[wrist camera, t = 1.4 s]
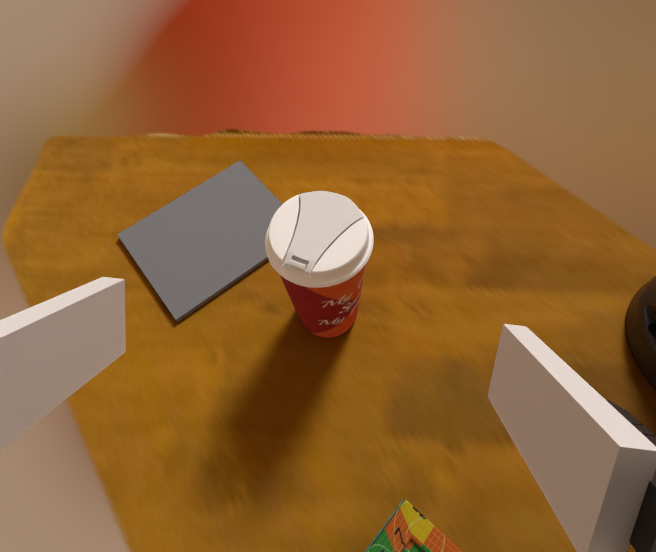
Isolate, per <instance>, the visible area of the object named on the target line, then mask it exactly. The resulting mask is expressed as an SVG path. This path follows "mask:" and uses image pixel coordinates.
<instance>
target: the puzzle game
mask: <svg viewBox="0 0 656 552" xmlns="http://www.w3.org/2000/svg"><path fill="white" fill-rule="evenodd" d="M365 552H462V551H461V550H460V549H459V548H458V547H457V546H456V545H454V544H453V543H452V542H451V541H450V540H449V539H448V538H447V537H446V536H445V535H444V534H443V533H442V532H440V531H439V530H438V529H437V528H436V527H435V526H434V525H433V524H432V523H431V522H430V521H429V520H427V519H426V518H425V517H424V516H423V515H422V514H421V513H420V512H419V511H418V510H417V509H416V508H414V507H413V506H412V505H411V504H410V503H409V502H408V501H407V500H406V499H403V500H402V501H401V503H400V504H399V505H398V507H397V508H396V510H395V511H394V512H393V514H392V515H391V517H390V518H389V519H388V521H387V522H386V524H385V525H384V526H383V528H382V529H381V531H380V532H379V533H378V535H377V536H376V537H375V539H374V540H373V542H372V543H371V544H370V546H369V547H368V549H367V550H366V551H365Z"/></svg>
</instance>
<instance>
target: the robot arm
mask: <svg viewBox="0 0 656 552" xmlns="http://www.w3.org/2000/svg"><path fill="white" fill-rule="evenodd" d="M626 329H627V337H628V341H629V345H630V348H631V351H632V353H633V356H634V358H635V360H636V362H637V364H638V365H639V367H640V369H641V370H642V372H643V373H644V375H645V376H646V378H647V379H648V380H649V381H650V383H651V384H652V385H653V386H654V387H655V388H656V276H655V277H654V278H653V279H651V280H650V281H649V282H648V283H646V284H645V285H644V286H643V287H641V288H640V289H639V290H638V292H637V293H636V294H635V296H634V297H633V299H632V301H631V303H630V305H629V308H628V312H627V319H626ZM125 352H126V346H125V282H124V279H117V278H109V277H102V278H99V279H97V280H94V281H92V282H90V283H87V284H85V285H83V286H80V287H78V288H76V289H73V290H71V291H68V292H66V293H64V294H61V295H59V296H57V297H54V298H52V299H50V300H47V301H45V302H42V303H40V304H38V305H35V306H33V307H31V308H28V309H26V310H24V311H21V312H19V313H17V314H14V315H12V316H9V317H7V318H5V319H2V320H0V451H1V450H2V449H3V448H5V447H6V446H7V445H8V444H10V443H11V442H12V441H13V440H15V439H16V438H17V437H18V436H20V435H21V434H22V433H23V432H25V431H26V430H27V429H29V428H30V427H31V426H32V425H34V424H35V423H36V422H37V421H39V420H40V419H41V418H42V417H44V416H45V415H46V414H47V413H49V412H50V411H51V410H53V409H54V408H55V407H56V406H58V405H59V404H60V403H61V402H63V401H64V400H65V399H67V398H68V397H69V396H70V395H72V394H73V393H74V392H75V391H77V390H78V389H79V388H81V387H82V386H83V385H84V384H86V383H87V382H88V381H89V380H91V379H92V378H93V377H95V376H96V375H97V374H98V373H100V372H101V371H102V370H103V369H105V368H106V367H107V366H108V365H110V364H111V363H112V362H114V361H115V360H116V359H117V358H119V357H120V356H121V355H122V354H124V353H125ZM488 399H489V400H490V402H491V404H492V406H493V407H494V409H495V411H496V413H497V414H498V416H499V418H500V419H501V421H502V423H503V425H504V426H505V428H506V430H507V432H508V433H509V435H510V437H511V439H512V440H513V442H514V444H515V446H516V447H517V449H518V451H519V452H520V454H521V456H522V458H523V459H524V461H525V463H526V465H527V466H528V468H529V470H530V472H531V473H532V475H533V477H534V478H535V480H536V482H537V484H538V485H539V487H540V489H541V491H542V492H543V494H544V496H545V498H546V499H547V501H548V503H549V505H550V506H551V508H552V510H553V511H554V513H555V515H556V517H557V518H558V520H559V522H560V524H561V525H562V527H563V529H564V531H565V532H566V534H567V536H568V537H569V539H570V541H571V543H572V544H573V546H574V548H575V550H576V551H577V552H628V550H629V547H630V544H631V545H632V546H633V548H634V549H635V550H636V552H656V437H654V434H653V433H652V432H651V431H649V430H648V429H647V428H646V427H643V424H642V423H640V422H639V421H638V420H637V419H636V418H635V417H634V416H633V415H631V414H630V413H629V412H628V411H626V410H624V409H623V408H621V407H619V406H618V405H616V404H614V403H612V402H611V401H609V400H605V399H604V398H603V397H602V396H601V395H600V394H599V393H597V392H596V391H595V390H594V389H593V388H592V387H591V386H590V385H589V384H588V383H587V382H586V381H584V380H583V379H582V378H581V377H580V376H579V375H578V374H577V373H576V372H575V371H574V370H573V369H572V368H570V367H569V366H568V365H567V364H566V363H565V362H564V361H563V360H562V359H561V358H560V357H559V356H557V355H556V354H555V353H554V352H553V351H552V350H551V349H550V348H549V347H548V346H547V345H546V344H544V343H543V342H542V341H541V340H540V339H539V338H538V337H537V336H536V335H535V334H534V333H533V332H531V331H530V330H529V329H528V328H527V327H526V326H518V325H509V324H503V327H502V332H501V336H500V341H499V346H498V350H497V355H496V359H495V364H494V369H493V373H492V378H491V383H490V387H489V392H488Z"/></svg>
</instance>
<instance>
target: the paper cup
mask: <svg viewBox="0 0 656 552" xmlns="http://www.w3.org/2000/svg"><path fill="white" fill-rule="evenodd" d="M299 196H300V197H299ZM372 248H373V231H372V228H371V225H370V222H369V221H368V219H367V217H366V216H365V215H364V214H363V213H362V211H361V210H360V209H358V207H357V206H356V205H355V204H354V203H353V202H352V201H351V200H350V199H349V198H347V197H345V196H343V195H340V194H337V193H332V192H327V191H314V192H308V193H303V194H299V195H296V196H294V197H292V198H291V199H289V200H288V201H286V202H285V203H284V204H283V205H282V206H281V207H279V209H278V210H277V211H276V213H275V214H274V216H273V218H272V220H271V222H270V225H269V227H268V230H267V233H266V238H265V250H266V254H267V257H268V259H269V262H270V264H271V265H272V267H273V268H274V269H275V270H276V271H277V272H278V273H279V274H280V276H281V278H282V280H283V283H284V285H285V287H286V290H287V292H288V294H289V296H290V299H291V301H292V303H293V305H294V307H295V310H296V312H297V314H298V316H299V318H300V320H301V322H302V323H303V325H304V326H305V328H306V329H307V330H308V331H309V332H311V333H312V334H314V335H316V336H319V337H323V338H332V337H337V336H339V335H342V334H343V333H345V332H346V331H348V330H349V329H350V327H351V326H352V325H353V323H354V321H355V319H356V316H357V312H358V307H359V301H360V295H361V289H362V283H363V277H364V271H365V265H366V263H367V261H368V259H369V257H370V255H371V252H372Z"/></svg>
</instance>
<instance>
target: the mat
mask: <svg viewBox="0 0 656 552" xmlns="http://www.w3.org/2000/svg"><path fill="white" fill-rule="evenodd" d="M282 205H283V204H282V203H281V202H280V201H279V200H278V199H277V198H276V197H275V196H274V195H273V194H272V193H271V192H270V191H269V190H268V189H267V188H266V186H265V185H264V184H263V183H262V182H261V181H260V180H259V179H258V178H257V177H256V176H255V175H254V174H253V173H252V172H251V171H250V170H249V169H248V168H247V167H246V166H245V165H244V164H243V163H242V162H241V161H238V162H237V163H235V164H233V165H232V166H230V167H228V168H227V169H225V170H223V171H222V172H220V173H218V174H217V175H215V176H213V177H212V178H210V179H209V180H207V181H205V182H204V183H202V184H200V185H199V186H197V187H195V188H194V189H192V190H190V191H189V192H187V193H185V194H184V195H182V196H180V197H179V198H177V199H175V200H174V201H172V202H170V203H169V204H167V205H165V206H164V207H162V208H161V209H159V210H157V211H156V212H154V213H152V214H151V215H149V216H147V217H146V218H144V219H142V220H141V221H139V222H137V223H136V224H134V225H132V226H131V227H129V228H127V229H126V230H124V231H122V232H121V233H119V234H117V235H118V236H119V238H120V239H121V241H122V242H123V244H124V245H125V247H126V248H127V250H128V251H129V252H130V254H131V255H132V257H133V258H134V260H135V261H136V263H137V264H138V266H139V267H140V269H141V270H142V271H143V273H144V274H145V276H146V277H147V279H148V280H149V282H150V283H151V285H152V286H153V287H154V289H155V290H156V292H157V293H158V295H159V296H160V298H161V299H162V301H163V302H164V304H165V305H166V306H167V308H168V309H169V311H170V312H171V314H172V315H173V317H174V318H175V320H176V321H177V322H179V321H181V320H182V319H184V318H185V317H186V316H188V315H189V314H191V313H192V312H194V311H195V310H197V309H198V308H199V307H201V306H202V305H204V304H205V303H207V302H208V301H210V300H211V299H212V298H214V297H215V296H217V295H218V294H220V293H221V292H223V291H224V290H225V289H227V288H228V287H230V286H231V285H233V284H234V283H236V282H237V281H238V280H240V279H241V278H243V277H244V276H246V275H247V274H249V273H250V272H251V271H253V270H254V269H256V268H257V267H259V266H260V265H262V264H263V263H264V262H266V261H267V260H269V259H268V257H267V254H266V250H265V238H266V233H267V230H268V227H269V225H270V222H271V220H272V218H273V216H274V214H275V213H276V211H277V210H278V209H279V207H281V206H282Z"/></svg>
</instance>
